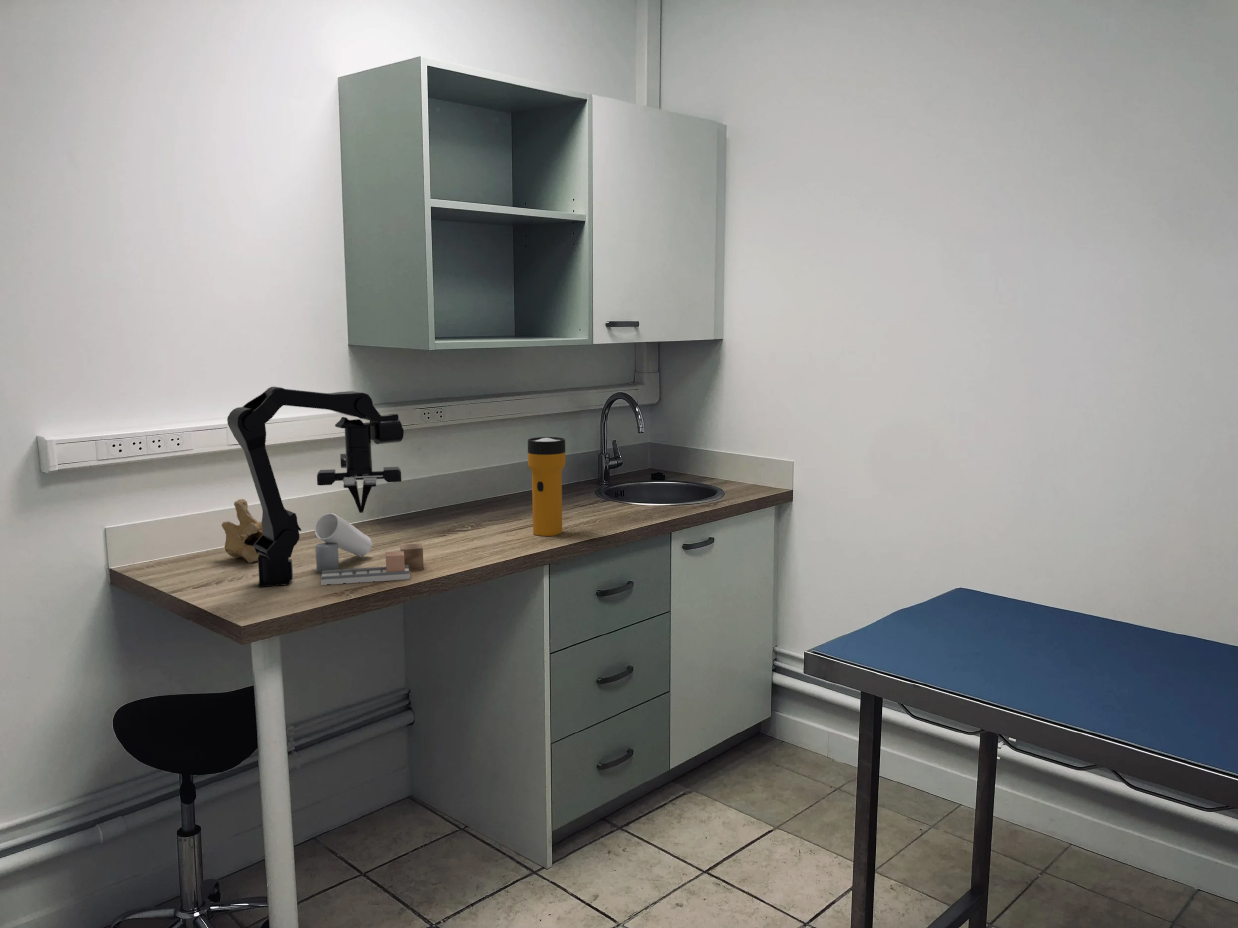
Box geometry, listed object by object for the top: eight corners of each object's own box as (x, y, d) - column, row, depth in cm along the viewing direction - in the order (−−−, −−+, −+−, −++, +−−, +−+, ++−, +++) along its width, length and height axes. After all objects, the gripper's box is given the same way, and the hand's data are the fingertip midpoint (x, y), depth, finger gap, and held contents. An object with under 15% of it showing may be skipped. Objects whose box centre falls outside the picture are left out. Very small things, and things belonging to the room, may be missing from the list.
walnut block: (401, 570, 225) (400, 549, 225) (400, 565, 230) (400, 544, 229) (423, 569, 227) (422, 548, 226) (422, 563, 231) (421, 543, 231)
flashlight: (571, 436, 261) (553, 441, 252) (573, 531, 265) (555, 538, 256) (539, 434, 265) (520, 439, 256) (541, 527, 269) (522, 535, 260)
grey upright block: (316, 573, 223) (314, 548, 222) (317, 568, 227) (316, 543, 227) (338, 572, 224) (337, 546, 223) (339, 566, 229) (338, 541, 228)
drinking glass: (376, 554, 236) (339, 534, 223) (352, 563, 238) (314, 543, 225) (374, 530, 239) (337, 508, 226) (351, 538, 241) (313, 517, 228)
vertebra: (252, 551, 243) (248, 492, 241) (280, 561, 234) (276, 500, 232) (218, 558, 237) (213, 497, 235) (245, 568, 228) (241, 505, 225)
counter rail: (321, 585, 213) (320, 577, 213) (322, 578, 219) (322, 570, 218) (409, 578, 218) (409, 571, 218) (408, 572, 223) (408, 564, 223)
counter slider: (386, 573, 217) (385, 556, 217) (386, 569, 221) (385, 552, 220) (404, 572, 218) (404, 555, 218) (404, 568, 222) (403, 551, 221)
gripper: (398, 440, 234) (401, 503, 237) (317, 443, 230) (321, 507, 232) (400, 446, 224) (402, 512, 226) (315, 449, 219) (318, 517, 221)
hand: (361, 512), depth 227 cm, fingers closed
